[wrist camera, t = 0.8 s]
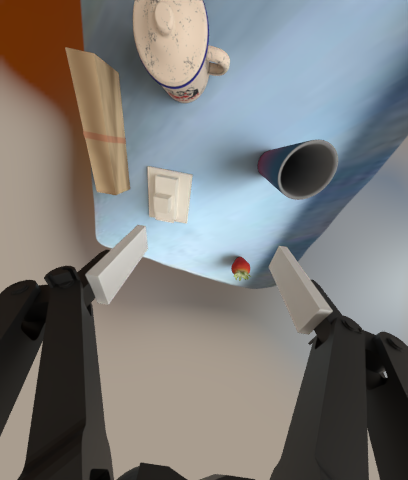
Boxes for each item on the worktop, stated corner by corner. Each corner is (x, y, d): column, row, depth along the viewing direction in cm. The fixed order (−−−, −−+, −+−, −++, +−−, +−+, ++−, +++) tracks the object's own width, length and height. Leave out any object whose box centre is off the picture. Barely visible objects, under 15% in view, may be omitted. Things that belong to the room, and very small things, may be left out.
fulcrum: (149, 166, 33) (134, 169, 27) (192, 174, 33) (187, 179, 27) (150, 215, 39) (138, 226, 33) (187, 221, 39) (181, 234, 34)
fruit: (229, 264, 46) (231, 284, 39) (230, 251, 43) (233, 269, 37) (246, 265, 46) (251, 285, 39) (248, 251, 43) (254, 270, 36)
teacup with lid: (157, 98, 27) (122, 68, 17) (158, 18, 22) (111, -89, 12) (220, 114, 27) (222, 93, 17) (235, 39, 23) (249, -48, 13)
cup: (269, 186, 33) (301, 209, 21) (246, 168, 32) (266, 180, 19) (294, 158, 30) (350, 164, 17) (270, 136, 29) (313, 124, 16)
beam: (113, 185, 36) (96, 191, 31) (95, 68, 25) (64, 46, 20) (130, 189, 36) (115, 195, 31) (118, 73, 25) (93, 53, 20)
